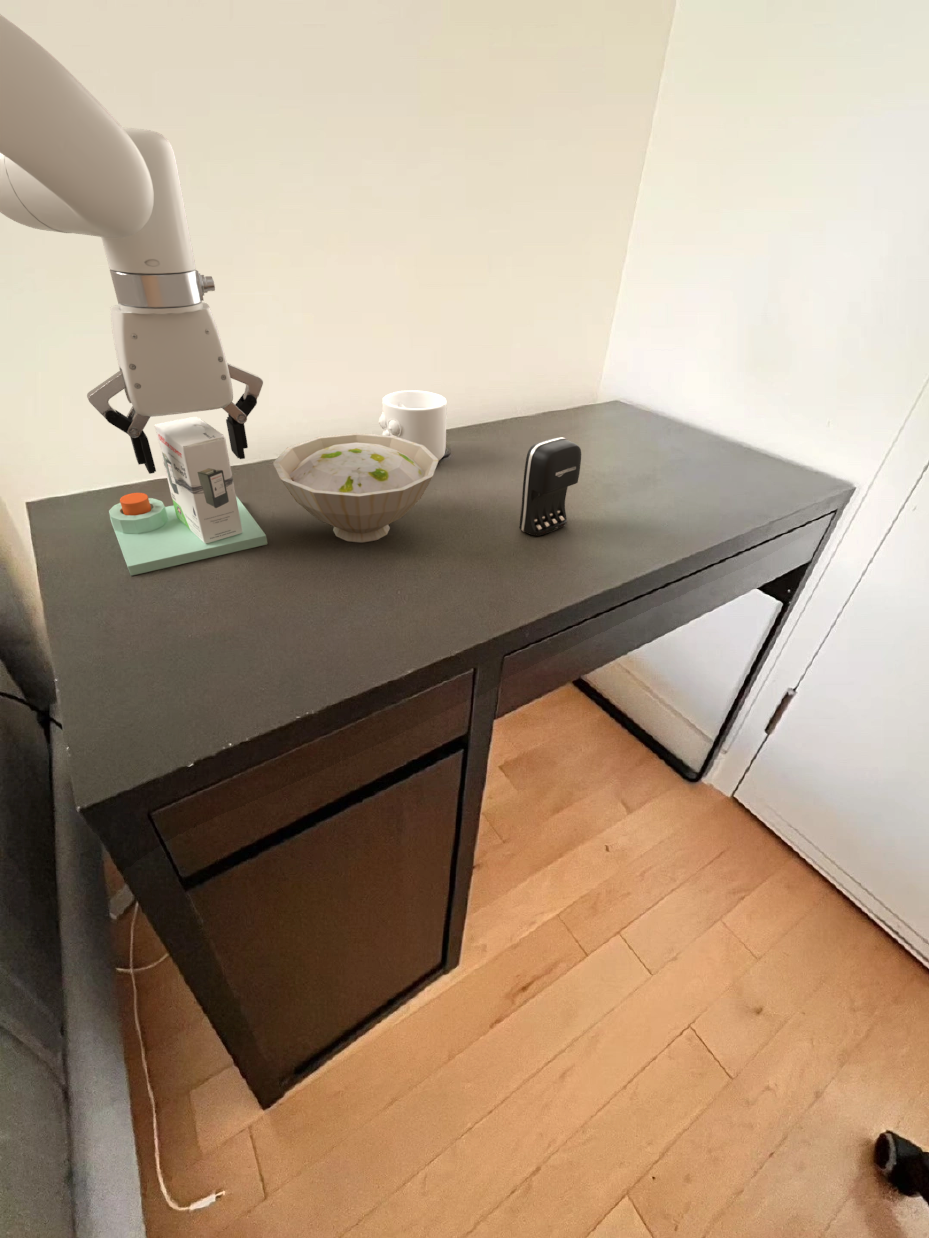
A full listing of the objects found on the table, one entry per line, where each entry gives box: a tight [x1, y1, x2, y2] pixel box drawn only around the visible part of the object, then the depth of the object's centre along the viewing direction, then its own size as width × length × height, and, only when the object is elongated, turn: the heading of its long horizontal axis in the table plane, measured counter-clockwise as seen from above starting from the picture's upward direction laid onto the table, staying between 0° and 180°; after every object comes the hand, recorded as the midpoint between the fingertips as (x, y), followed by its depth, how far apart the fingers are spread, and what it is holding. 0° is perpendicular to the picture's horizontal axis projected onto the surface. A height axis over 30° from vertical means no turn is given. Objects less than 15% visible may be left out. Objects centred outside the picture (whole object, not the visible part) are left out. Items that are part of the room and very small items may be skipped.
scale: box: [108, 495, 268, 577], centre depth 73 cm, size 15×13×3 cm
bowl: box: [272, 432, 440, 543], centre depth 75 cm, size 19×19×10 cm
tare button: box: [119, 492, 151, 516], centre depth 72 cm, size 3×3×2 cm
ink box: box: [154, 416, 243, 544], centre depth 70 cm, size 9×5×12 cm, turn 42°
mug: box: [378, 389, 448, 461], centre depth 95 cm, size 12×10×9 cm
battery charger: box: [518, 436, 582, 537], centre depth 76 cm, size 7×4×11 cm, turn 130°
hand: (195, 461), depth 69 cm, fingers open, 9 cm apart
